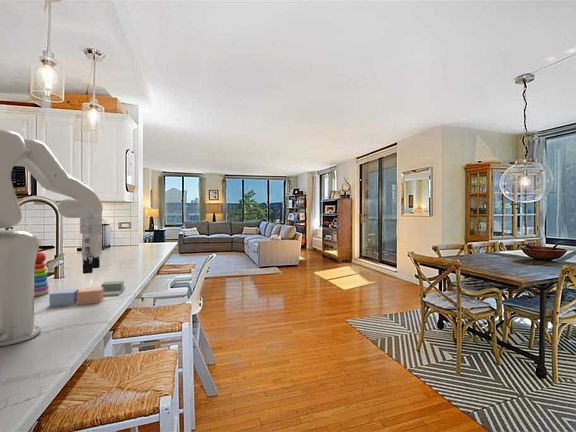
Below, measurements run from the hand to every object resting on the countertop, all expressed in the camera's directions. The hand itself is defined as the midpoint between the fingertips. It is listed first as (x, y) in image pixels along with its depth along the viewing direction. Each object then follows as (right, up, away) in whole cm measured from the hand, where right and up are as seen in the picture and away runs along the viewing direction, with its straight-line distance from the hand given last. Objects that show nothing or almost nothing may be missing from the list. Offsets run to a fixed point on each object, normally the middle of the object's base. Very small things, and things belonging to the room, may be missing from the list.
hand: (91, 270), depth 118 cm
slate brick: (-9, -13, -3) cm, 16 cm away
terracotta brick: (0, -13, 0) cm, 13 cm away
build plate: (-3, -12, +12) cm, 18 cm away
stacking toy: (-30, -12, +8) cm, 33 cm away
